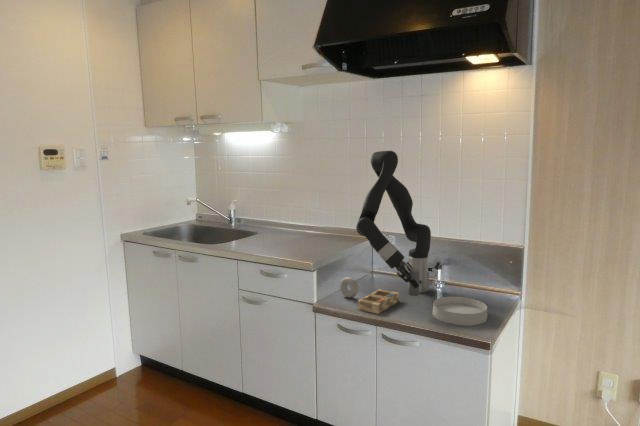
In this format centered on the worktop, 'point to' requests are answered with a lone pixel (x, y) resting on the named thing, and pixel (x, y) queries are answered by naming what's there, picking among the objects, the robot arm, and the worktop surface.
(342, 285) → the donut
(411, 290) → the plug
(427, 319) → the worktop surface
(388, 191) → the robot arm
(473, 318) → the dish
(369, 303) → the socket board
